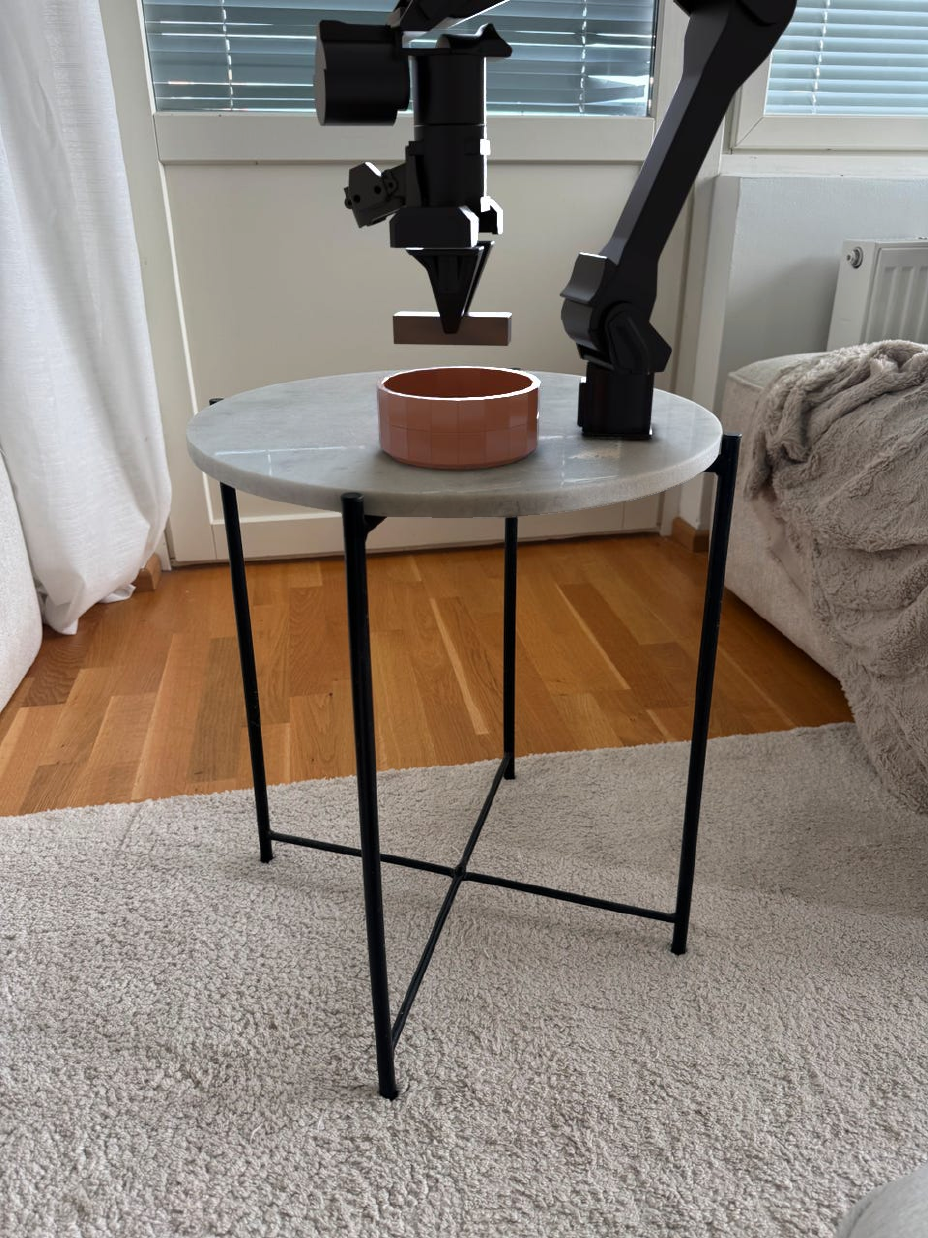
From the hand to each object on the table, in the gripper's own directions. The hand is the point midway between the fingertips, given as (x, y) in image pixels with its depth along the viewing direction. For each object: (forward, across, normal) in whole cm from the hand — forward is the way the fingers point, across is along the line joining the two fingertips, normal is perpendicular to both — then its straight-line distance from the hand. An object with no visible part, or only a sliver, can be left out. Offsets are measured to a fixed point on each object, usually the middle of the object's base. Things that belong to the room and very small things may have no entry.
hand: (453, 331), depth 79 cm
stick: (+1, 0, 0) cm, 1 cm away
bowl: (+10, +1, 0) cm, 10 cm away
